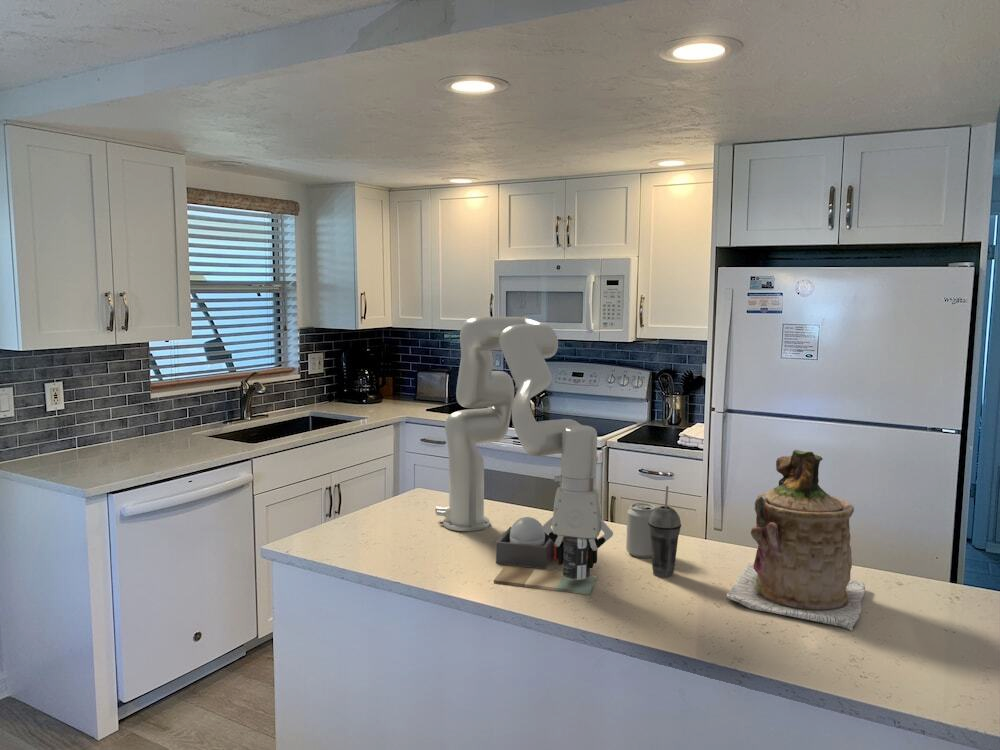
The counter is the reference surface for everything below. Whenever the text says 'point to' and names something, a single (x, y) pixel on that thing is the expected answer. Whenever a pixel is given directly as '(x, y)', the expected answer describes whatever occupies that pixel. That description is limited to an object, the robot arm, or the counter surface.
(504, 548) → the box
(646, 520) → the can
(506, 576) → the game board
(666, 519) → the beverage cup
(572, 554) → the pill bottle
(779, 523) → the cookie jar
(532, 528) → the dome
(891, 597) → the counter surface
